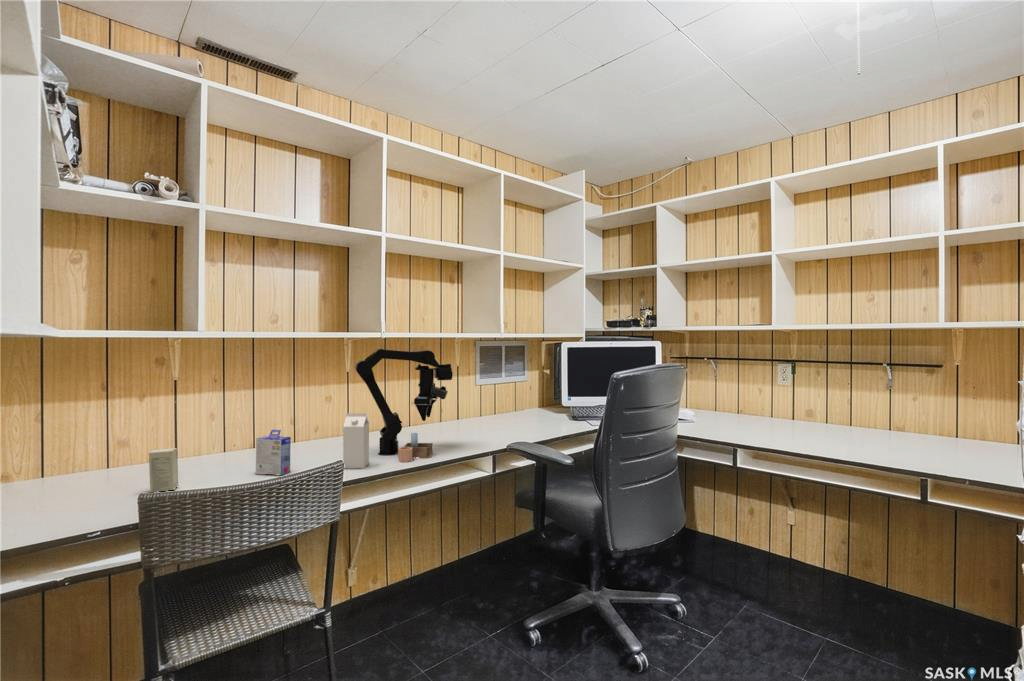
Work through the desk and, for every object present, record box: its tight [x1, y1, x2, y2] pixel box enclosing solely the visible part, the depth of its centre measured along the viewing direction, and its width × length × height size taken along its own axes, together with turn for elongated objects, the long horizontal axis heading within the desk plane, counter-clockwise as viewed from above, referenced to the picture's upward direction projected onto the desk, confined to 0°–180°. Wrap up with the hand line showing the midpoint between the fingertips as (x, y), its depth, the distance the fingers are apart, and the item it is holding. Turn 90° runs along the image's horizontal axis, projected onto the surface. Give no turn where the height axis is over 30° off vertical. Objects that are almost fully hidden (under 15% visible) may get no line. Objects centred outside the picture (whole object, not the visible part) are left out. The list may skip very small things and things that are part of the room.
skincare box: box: [148, 447, 179, 493], centre depth 151 cm, size 6×4×12 cm
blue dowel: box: [410, 432, 419, 447], centre depth 195 cm, size 4×2×8 cm
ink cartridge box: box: [255, 429, 291, 476], centre depth 170 cm, size 10×6×14 cm, turn 80°
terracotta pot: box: [397, 446, 414, 463], centre depth 187 cm, size 5×5×5 cm
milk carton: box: [342, 412, 370, 469], centre depth 179 cm, size 7×7×19 cm
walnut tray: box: [403, 442, 433, 459], centre depth 195 cm, size 10×8×4 cm
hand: (426, 418), depth 204 cm, fingers open, 9 cm apart
